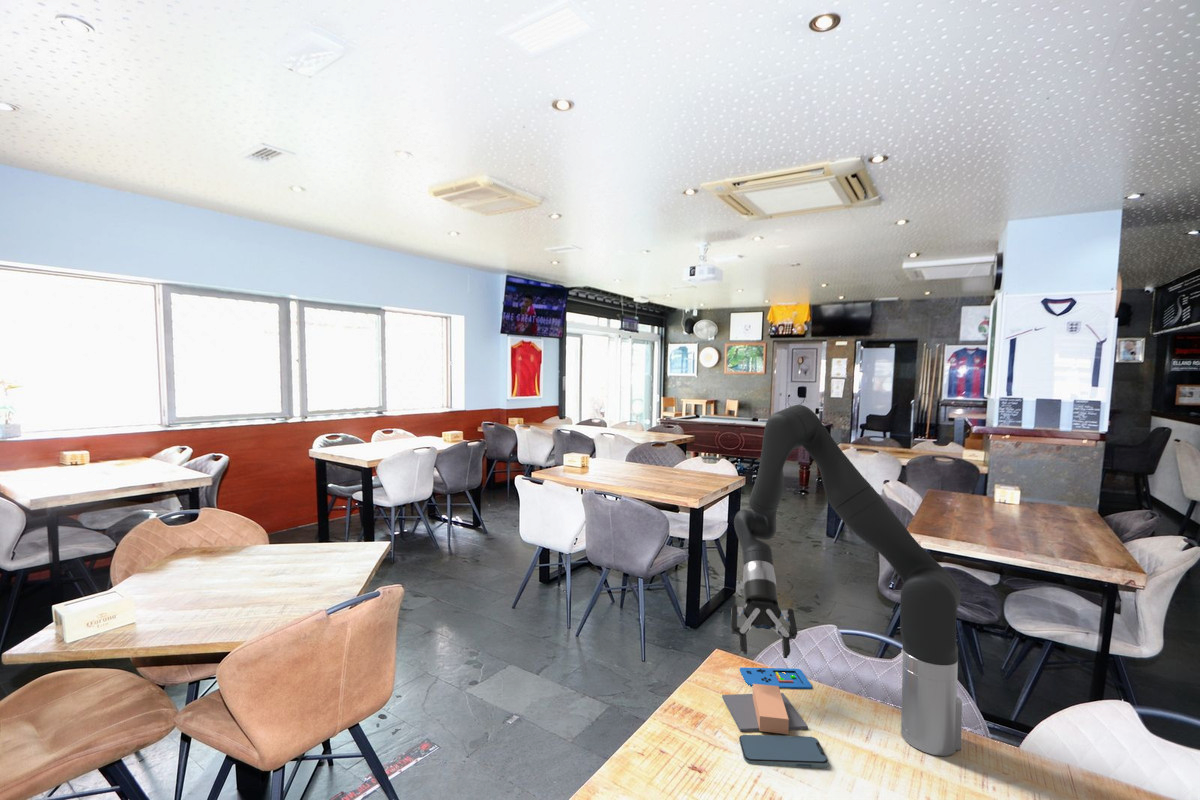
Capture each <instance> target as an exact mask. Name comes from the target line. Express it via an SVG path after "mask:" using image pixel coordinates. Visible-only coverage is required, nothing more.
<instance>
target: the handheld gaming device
mask: <svg viewBox="0 0 1200 800" xmlns="http://www.w3.org/2000/svg"><path fill="white" fill-rule="evenodd" d="M739 672H740V675H741V677H742V676H743V677H742V678H744V679H743V681H744V680H745V681H744V682H746V683H747V684H748V685H747V684H746V683H745V684H746V685H747V686H749V685H750V686H749V687H751V686H753V684H761V685H771V686H779V688H790V689H789V690H812V689H813V685H812V684H811V682H810V680H809V679H808V677H806V675H805V674H804V672H803V670H802V669H801V668H783V667H782V668H781V667H739ZM782 672H785V673H786V674H784V673H782ZM792 675H793V676H792Z"/></svg>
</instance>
